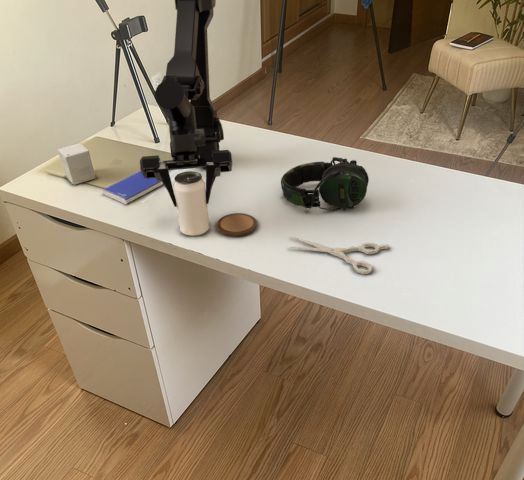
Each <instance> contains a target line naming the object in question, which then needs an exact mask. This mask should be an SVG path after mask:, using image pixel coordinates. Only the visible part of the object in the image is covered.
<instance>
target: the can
mask: <svg viewBox="0 0 524 480" xmlns="http://www.w3.org/2000/svg"><path fill="white" fill-rule="evenodd" d="M173 191H174V195H175V199H176V207H175V208H176V212H177V219H178V225H179V230H180V232H181V233H182V234H183V235H186V236H188V237H198V236H202V235H204V234H206V233H207V231H208V230H209V229H210V219H209V210H208V209H209V208H208V204H207V203H206V182H205V181H204V178H203V175H202V174H201V173H200V172H198V171H193V170H188V171H182V172H179V173H176V175H175V176H174V183H173Z"/></svg>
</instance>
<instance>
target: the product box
mask: <svg viewBox="0 0 524 480" xmlns="http://www.w3.org/2000/svg"><path fill="white" fill-rule="evenodd" d="M57 152H58V156H59V158H60V163H61V166H62V168H63V171H64V175H65V178H66V179H68V180H69V182H71V184H73V186H76V185H79V184H82V183H85V182H88V181H92V180H96V178H97V177H96V173H95V169H94V166H93V162H92V157H91V154H90V151H89V150H88V148H86V146H84V145H83V144H82V143H81V142H78V143H75V144H70V145H67V146H63V147H60V148H57Z"/></svg>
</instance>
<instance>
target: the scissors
mask: <svg viewBox="0 0 524 480" xmlns="http://www.w3.org/2000/svg"><path fill="white" fill-rule="evenodd" d="M293 238H294V239H296V240H299V241H301V242H304V243H306V244H309V245H311V246H314V247H311V246H309V247H308V246H307V247H306V246H291V248H293V249H298V250H299V249H300V250H305V251H314V252H322V253H328V254H330V255H332V256H335V257H338V258H339V259H343V260H345V262H346V263H347V264H350V265H352V267H353V270H354V271H355V272H356V273H358V274H362V275H367V274H368V275H369V274H371V273H372V270H373V266H372V265H371V264H370V263H368V262H367V261H364V260H359V261H356V260H354V259H351V258H349V257H348V256H347V255H346V254H345V253H350V252H362V253H363V254H366V255H374V254H377V253H378V252H379V251H380V250H388V249H389V247H390V245H389V244H387V243H386V244H377V243H374V242H365V243H362V245H359V246H351V247H348V248H347V247H346V248H344V247H329V246H325V245H322V244H320V243H316V242H313V241H309V240H306V239H303V238H299V237H296V236H293ZM367 248H374V249H367ZM359 266H362V267H365V268H367V269H362V268H361V269H360V268H359Z"/></svg>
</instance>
